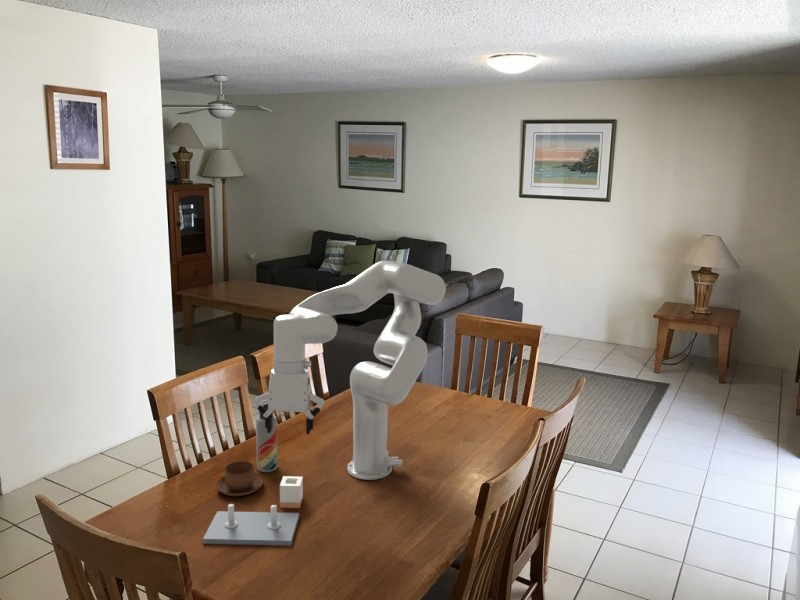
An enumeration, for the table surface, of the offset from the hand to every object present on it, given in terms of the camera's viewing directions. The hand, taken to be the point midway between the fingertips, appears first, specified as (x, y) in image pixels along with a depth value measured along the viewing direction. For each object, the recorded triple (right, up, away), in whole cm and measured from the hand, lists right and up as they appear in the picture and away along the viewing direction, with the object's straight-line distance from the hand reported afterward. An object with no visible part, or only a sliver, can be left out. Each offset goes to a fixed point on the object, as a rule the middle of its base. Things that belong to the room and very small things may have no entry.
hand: (289, 431), depth 164 cm
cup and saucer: (-15, -18, +11) cm, 26 cm away
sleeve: (0, -19, +4) cm, 20 cm away
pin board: (-7, -22, -8) cm, 24 cm away
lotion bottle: (-10, -15, +23) cm, 29 cm away
